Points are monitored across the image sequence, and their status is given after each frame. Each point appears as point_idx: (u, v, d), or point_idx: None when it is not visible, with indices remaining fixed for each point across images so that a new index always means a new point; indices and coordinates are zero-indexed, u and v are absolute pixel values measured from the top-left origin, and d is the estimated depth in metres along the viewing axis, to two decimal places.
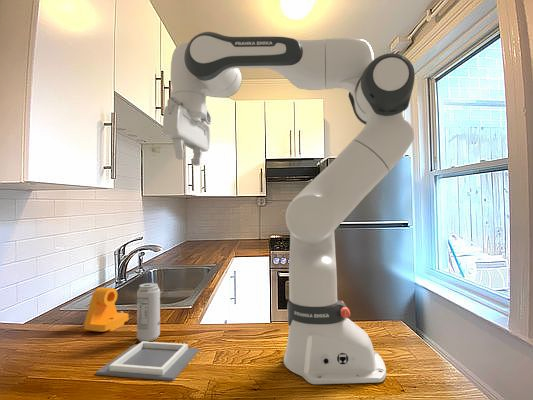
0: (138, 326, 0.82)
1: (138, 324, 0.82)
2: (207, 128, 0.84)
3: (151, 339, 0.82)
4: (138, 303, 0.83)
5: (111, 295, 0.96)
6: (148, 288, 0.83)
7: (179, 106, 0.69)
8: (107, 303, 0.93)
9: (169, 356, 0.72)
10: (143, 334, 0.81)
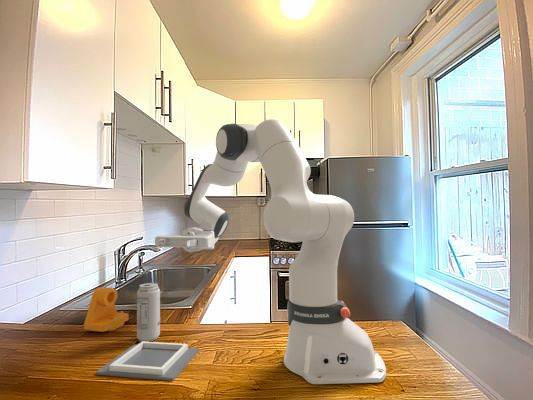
0: (138, 326, 0.82)
1: (138, 324, 0.82)
2: (207, 234, 1.06)
3: (151, 339, 0.82)
4: (138, 303, 0.83)
5: (111, 295, 0.96)
6: (148, 288, 0.83)
7: None
8: (107, 303, 0.93)
9: (169, 356, 0.72)
10: (143, 334, 0.81)
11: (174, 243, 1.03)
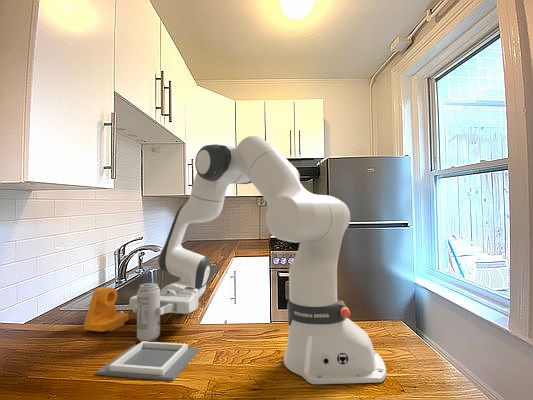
0: (138, 326, 0.82)
1: (138, 324, 0.82)
2: (189, 293, 0.92)
3: (151, 339, 0.82)
4: (138, 303, 0.83)
5: (111, 295, 0.96)
6: (148, 288, 0.83)
7: None
8: (107, 303, 0.93)
9: (169, 356, 0.72)
10: (143, 334, 0.81)
11: None
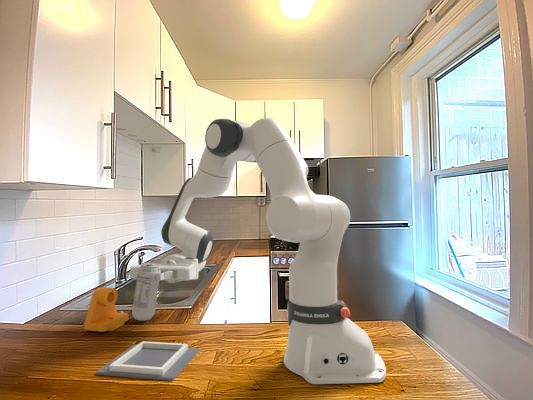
0: (136, 304, 0.83)
1: (136, 302, 0.83)
2: (189, 262, 0.93)
3: (148, 317, 0.84)
4: (139, 282, 0.83)
5: (111, 295, 0.96)
6: (152, 268, 0.83)
7: None
8: (107, 303, 0.93)
9: (169, 356, 0.72)
10: (141, 313, 0.83)
11: None
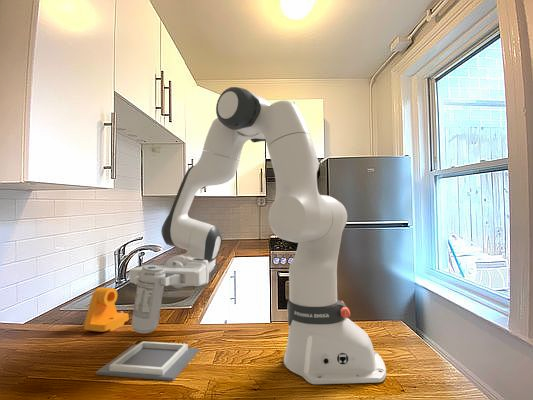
0: (137, 314, 0.70)
1: (137, 312, 0.70)
2: (199, 264, 0.80)
3: (150, 329, 0.71)
4: (140, 288, 0.70)
5: (111, 295, 0.96)
6: (155, 271, 0.70)
7: None
8: (107, 303, 0.93)
9: (169, 356, 0.72)
10: (142, 324, 0.70)
11: None
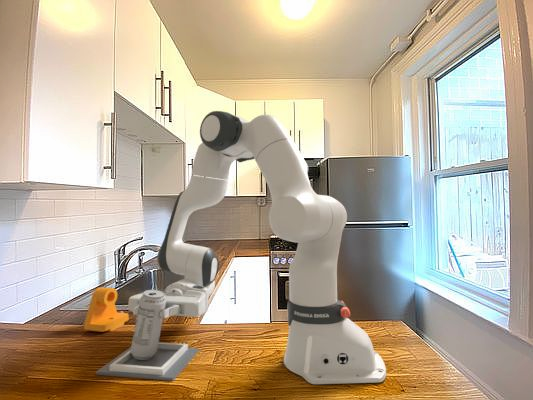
0: (136, 341, 0.70)
1: (136, 338, 0.70)
2: (198, 293, 0.80)
3: (149, 356, 0.71)
4: (140, 315, 0.70)
5: (111, 295, 0.96)
6: (156, 299, 0.70)
7: None
8: (107, 303, 0.93)
9: (169, 356, 0.72)
10: (142, 351, 0.69)
11: None
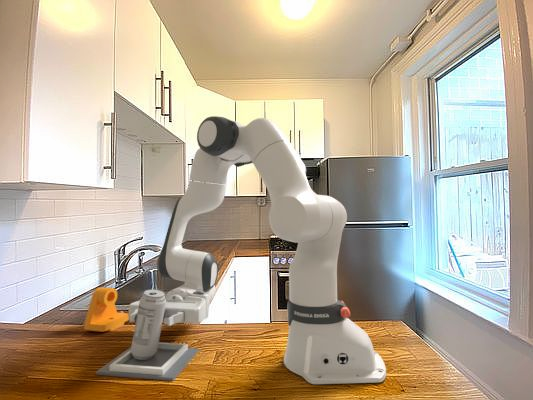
0: (136, 340, 0.70)
1: (137, 338, 0.70)
2: (198, 299, 0.79)
3: (149, 356, 0.71)
4: (141, 314, 0.70)
5: (111, 295, 0.96)
6: (156, 298, 0.70)
7: None
8: (107, 303, 0.93)
9: (169, 356, 0.72)
10: (142, 351, 0.70)
11: None
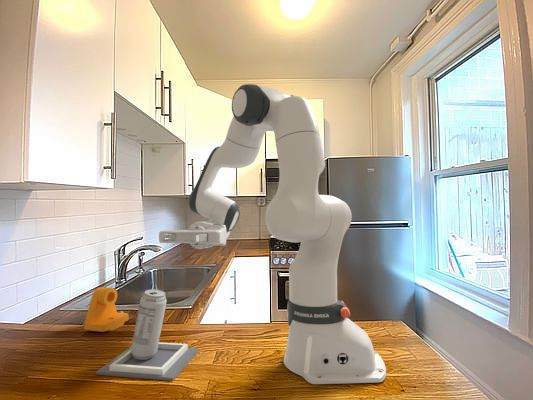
0: (136, 340, 0.70)
1: (137, 338, 0.70)
2: (218, 228, 0.93)
3: (149, 356, 0.71)
4: (141, 314, 0.70)
5: (111, 295, 0.96)
6: (157, 298, 0.71)
7: None
8: (107, 303, 0.93)
9: (169, 356, 0.72)
10: (142, 351, 0.70)
11: (181, 238, 0.90)
